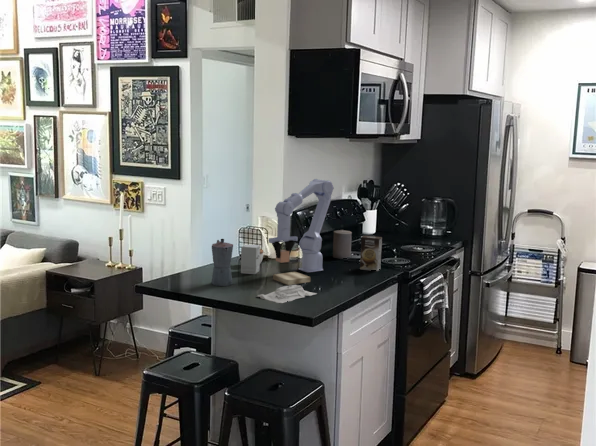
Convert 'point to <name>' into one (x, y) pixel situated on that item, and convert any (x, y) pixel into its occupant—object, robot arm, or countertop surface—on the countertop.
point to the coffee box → (370, 253)
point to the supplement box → (250, 259)
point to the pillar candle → (342, 244)
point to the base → (291, 278)
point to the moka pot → (222, 263)
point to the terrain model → (286, 294)
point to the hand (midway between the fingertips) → (282, 257)
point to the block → (283, 256)
